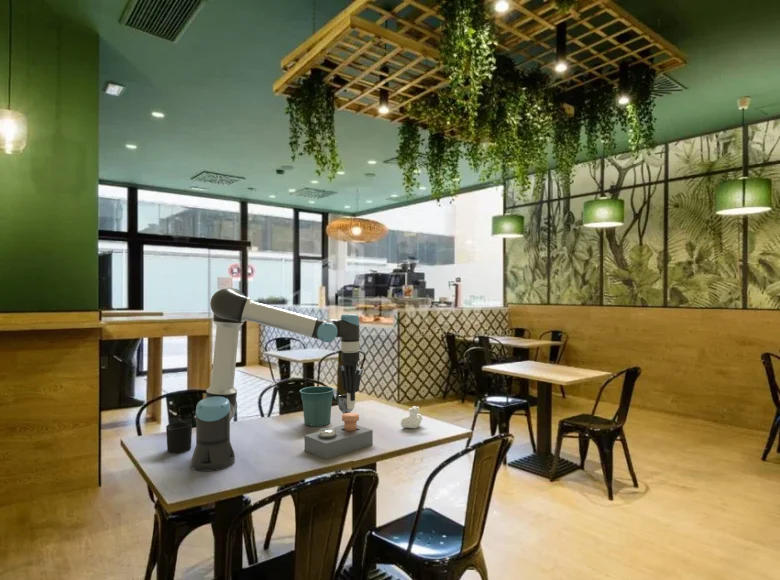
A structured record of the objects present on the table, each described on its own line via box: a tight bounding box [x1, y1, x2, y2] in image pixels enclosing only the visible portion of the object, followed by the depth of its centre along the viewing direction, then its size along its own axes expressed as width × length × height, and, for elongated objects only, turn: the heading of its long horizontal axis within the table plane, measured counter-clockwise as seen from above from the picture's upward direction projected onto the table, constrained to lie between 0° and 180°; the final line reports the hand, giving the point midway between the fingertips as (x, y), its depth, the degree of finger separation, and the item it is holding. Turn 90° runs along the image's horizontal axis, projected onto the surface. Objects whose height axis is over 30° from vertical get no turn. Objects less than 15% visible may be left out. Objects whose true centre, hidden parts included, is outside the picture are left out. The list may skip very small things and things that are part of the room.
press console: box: [304, 424, 374, 460], centre depth 193 cm, size 24×14×6 cm, turn 135°
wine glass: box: [337, 393, 356, 414], centre depth 218 cm, size 8×8×15 cm
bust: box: [400, 405, 423, 429], centre depth 220 cm, size 12×8×11 cm
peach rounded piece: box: [341, 412, 360, 433], centre depth 198 cm, size 7×7×7 cm
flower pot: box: [299, 385, 335, 428], centre depth 227 cm, size 16×16×16 cm
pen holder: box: [165, 421, 193, 454], centre depth 190 cm, size 9×9×10 cm
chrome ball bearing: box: [317, 427, 336, 439], centre depth 189 cm, size 7×7×7 cm
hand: (350, 408), depth 198 cm, fingers closed
